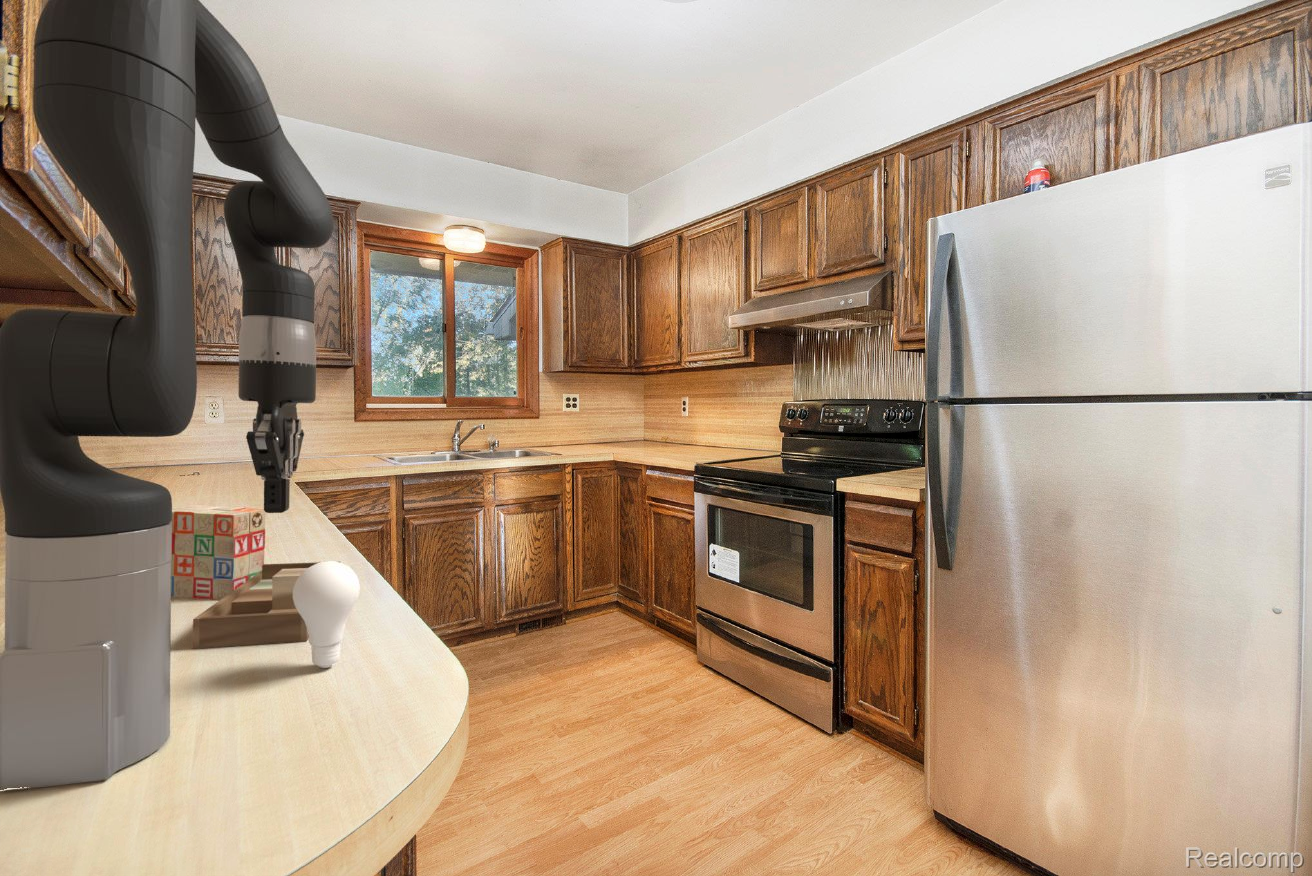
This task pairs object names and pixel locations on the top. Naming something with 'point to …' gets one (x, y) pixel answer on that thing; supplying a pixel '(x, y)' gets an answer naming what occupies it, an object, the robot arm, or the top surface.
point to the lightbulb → (326, 607)
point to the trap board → (250, 615)
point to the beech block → (284, 588)
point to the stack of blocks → (215, 549)
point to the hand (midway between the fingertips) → (276, 511)
